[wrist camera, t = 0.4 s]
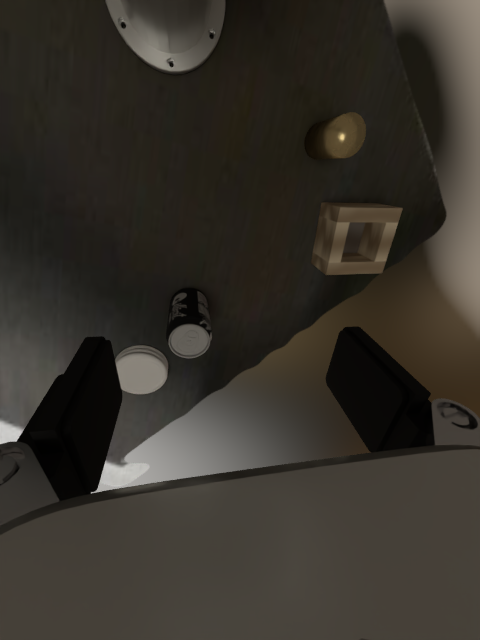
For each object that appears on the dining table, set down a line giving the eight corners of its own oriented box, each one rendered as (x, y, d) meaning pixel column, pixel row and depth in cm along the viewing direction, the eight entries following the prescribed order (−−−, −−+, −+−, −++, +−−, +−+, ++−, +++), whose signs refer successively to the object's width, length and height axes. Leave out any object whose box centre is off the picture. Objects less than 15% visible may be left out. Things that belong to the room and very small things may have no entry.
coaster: (137, 334, 48) (134, 345, 45) (178, 361, 53) (178, 373, 50) (104, 366, 51) (98, 379, 48) (146, 390, 55) (144, 402, 52)
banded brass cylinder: (307, 121, 36) (334, 110, 29) (336, 123, 37) (370, 113, 30) (302, 158, 38) (327, 157, 31) (330, 160, 39) (360, 158, 32)
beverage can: (165, 313, 47) (159, 354, 37) (177, 281, 44) (174, 316, 34) (199, 323, 49) (203, 365, 39) (213, 294, 47) (220, 329, 36)
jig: (321, 202, 42) (340, 207, 37) (377, 203, 43) (402, 208, 38) (310, 263, 47) (326, 274, 42) (361, 261, 48) (382, 273, 43)
